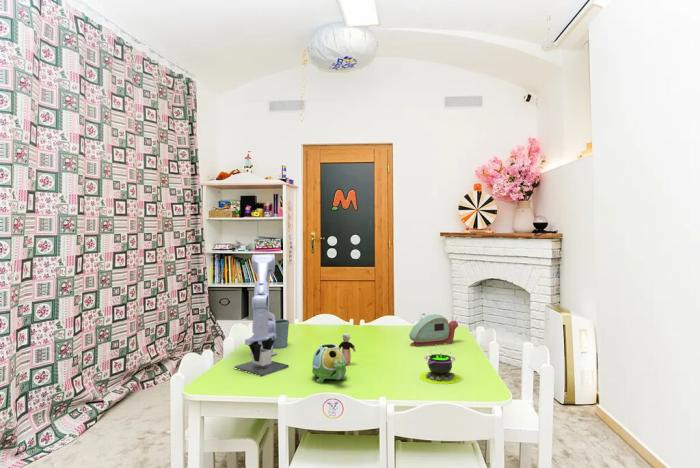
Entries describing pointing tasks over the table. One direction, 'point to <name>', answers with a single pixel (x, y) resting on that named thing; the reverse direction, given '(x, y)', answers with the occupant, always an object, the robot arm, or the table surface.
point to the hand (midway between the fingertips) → (261, 359)
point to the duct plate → (262, 368)
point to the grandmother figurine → (346, 348)
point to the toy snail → (433, 331)
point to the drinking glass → (281, 334)
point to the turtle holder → (329, 363)
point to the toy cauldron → (440, 370)
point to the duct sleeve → (263, 357)
